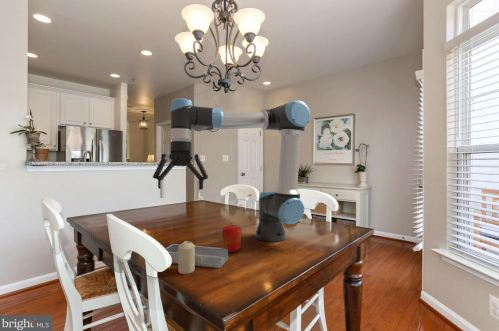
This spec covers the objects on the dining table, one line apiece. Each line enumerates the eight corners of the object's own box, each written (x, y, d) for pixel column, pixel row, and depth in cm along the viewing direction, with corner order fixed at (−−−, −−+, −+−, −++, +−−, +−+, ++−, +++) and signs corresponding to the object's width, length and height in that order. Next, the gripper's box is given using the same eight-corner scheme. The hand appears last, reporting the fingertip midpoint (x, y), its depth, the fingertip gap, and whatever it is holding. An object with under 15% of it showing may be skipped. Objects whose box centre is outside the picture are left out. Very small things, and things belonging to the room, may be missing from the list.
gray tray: (228, 258, 100) (228, 248, 100) (219, 268, 90) (219, 257, 90) (172, 252, 105) (172, 243, 105) (159, 261, 96) (159, 251, 96)
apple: (236, 255, 102) (236, 226, 102) (218, 252, 105) (218, 224, 105) (245, 248, 110) (245, 221, 110) (227, 246, 113) (227, 219, 113)
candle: (179, 267, 91) (179, 239, 90) (195, 267, 91) (195, 239, 91) (176, 274, 85) (176, 244, 85) (193, 274, 86) (193, 244, 85)
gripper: (216, 142, 98) (215, 197, 98) (152, 141, 99) (152, 195, 100) (212, 140, 91) (211, 200, 91) (143, 139, 92) (143, 198, 92)
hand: (180, 198), depth 95 cm, fingers open, 13 cm apart
